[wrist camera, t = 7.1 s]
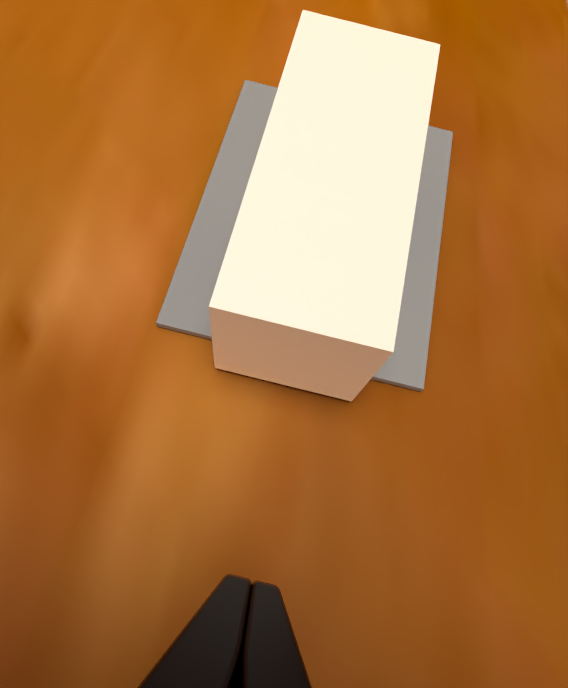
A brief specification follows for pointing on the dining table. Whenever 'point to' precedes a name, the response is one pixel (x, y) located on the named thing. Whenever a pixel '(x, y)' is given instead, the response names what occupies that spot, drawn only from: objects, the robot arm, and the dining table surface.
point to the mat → (222, 210)
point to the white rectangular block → (328, 212)
